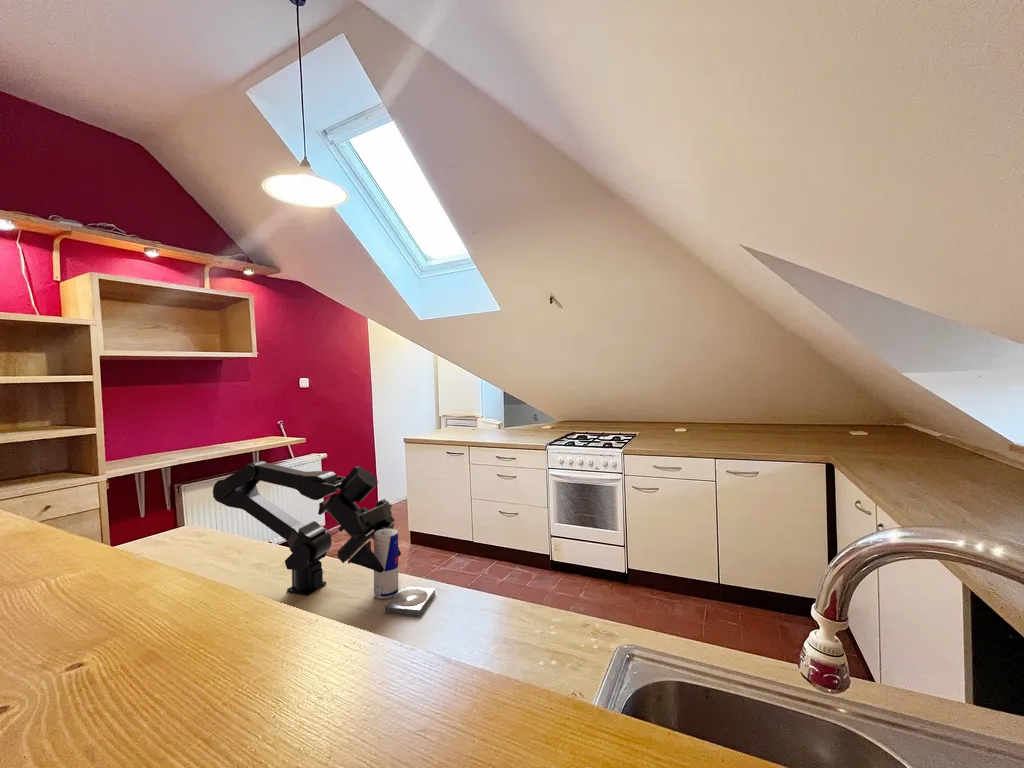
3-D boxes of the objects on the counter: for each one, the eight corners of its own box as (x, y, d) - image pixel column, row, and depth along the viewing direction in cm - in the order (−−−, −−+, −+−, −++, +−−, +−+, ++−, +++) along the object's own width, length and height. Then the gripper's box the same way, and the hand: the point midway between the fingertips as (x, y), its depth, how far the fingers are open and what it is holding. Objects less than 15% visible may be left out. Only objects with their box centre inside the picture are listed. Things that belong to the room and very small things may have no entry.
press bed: (384, 614, 95) (384, 606, 95) (403, 592, 105) (403, 585, 105) (419, 617, 94) (419, 609, 94) (435, 594, 104) (435, 587, 104)
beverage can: (391, 601, 101) (391, 536, 101) (369, 599, 102) (369, 534, 102) (402, 590, 106) (402, 528, 106) (381, 588, 107) (381, 527, 107)
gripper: (350, 502, 96) (398, 555, 94) (387, 483, 114) (428, 527, 112) (317, 536, 97) (363, 589, 95) (359, 512, 115) (399, 556, 114)
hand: (391, 563), depth 104 cm, fingers open, 9 cm apart
